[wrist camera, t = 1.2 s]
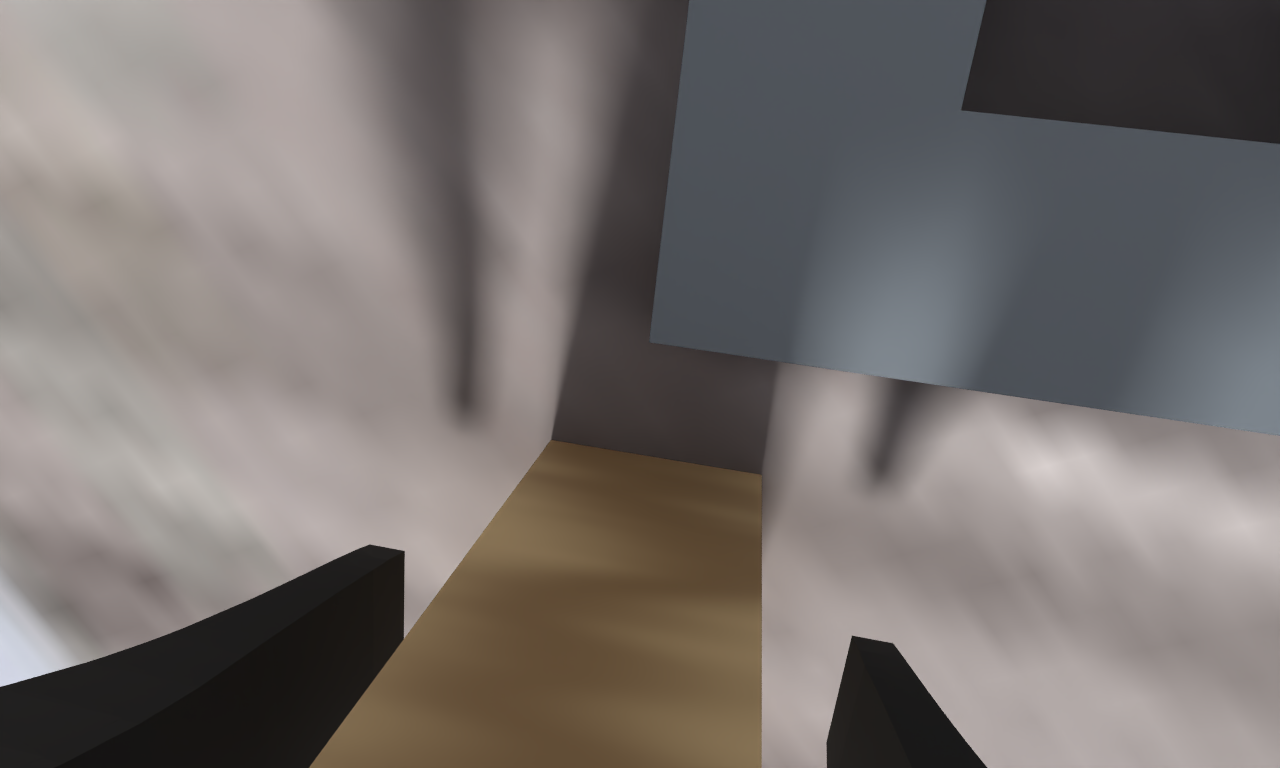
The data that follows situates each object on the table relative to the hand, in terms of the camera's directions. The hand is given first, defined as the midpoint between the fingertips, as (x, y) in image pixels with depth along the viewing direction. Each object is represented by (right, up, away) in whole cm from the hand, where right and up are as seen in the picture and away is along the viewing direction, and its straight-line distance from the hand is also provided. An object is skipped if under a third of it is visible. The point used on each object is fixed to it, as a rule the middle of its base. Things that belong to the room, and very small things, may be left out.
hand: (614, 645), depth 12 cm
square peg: (0, +1, +3) cm, 3 cm away
